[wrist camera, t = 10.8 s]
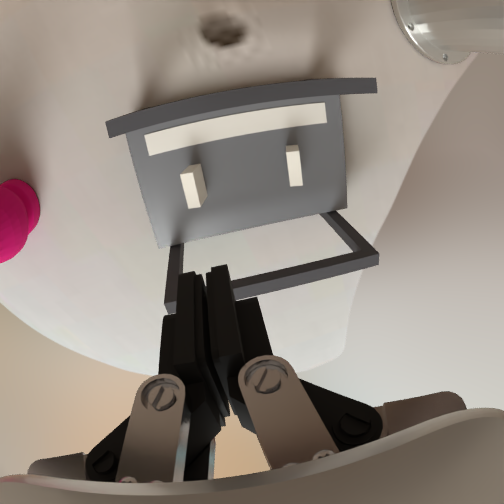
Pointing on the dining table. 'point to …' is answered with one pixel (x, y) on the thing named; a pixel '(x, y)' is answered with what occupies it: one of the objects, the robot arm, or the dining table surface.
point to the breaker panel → (241, 167)
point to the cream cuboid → (294, 165)
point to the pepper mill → (16, 216)
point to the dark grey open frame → (361, 248)
